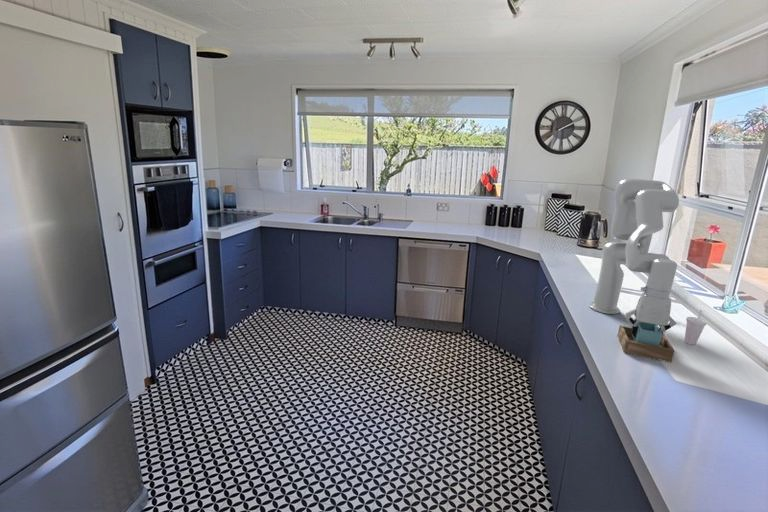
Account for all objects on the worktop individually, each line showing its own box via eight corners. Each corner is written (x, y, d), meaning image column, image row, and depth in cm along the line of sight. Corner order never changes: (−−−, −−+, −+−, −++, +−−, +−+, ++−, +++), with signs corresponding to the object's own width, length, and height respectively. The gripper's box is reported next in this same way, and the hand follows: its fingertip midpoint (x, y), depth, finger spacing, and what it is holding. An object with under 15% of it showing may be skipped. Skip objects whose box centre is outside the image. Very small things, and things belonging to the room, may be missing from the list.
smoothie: (691, 347, 159) (701, 313, 155) (676, 339, 165) (685, 306, 161) (704, 346, 161) (714, 312, 157) (688, 338, 166) (698, 305, 163)
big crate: (617, 335, 164) (619, 325, 163) (660, 344, 160) (663, 333, 158) (623, 352, 151) (626, 341, 150) (671, 362, 146) (674, 350, 145)
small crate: (631, 333, 160) (635, 319, 158) (652, 337, 158) (656, 323, 156) (636, 344, 151) (640, 329, 149) (658, 349, 149) (662, 333, 147)
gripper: (631, 291, 149) (620, 336, 154) (688, 300, 143) (675, 347, 148) (628, 285, 156) (617, 328, 160) (682, 294, 150) (669, 338, 155)
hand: (645, 337), depth 154 cm, fingers closed on small crate, 7 cm apart
